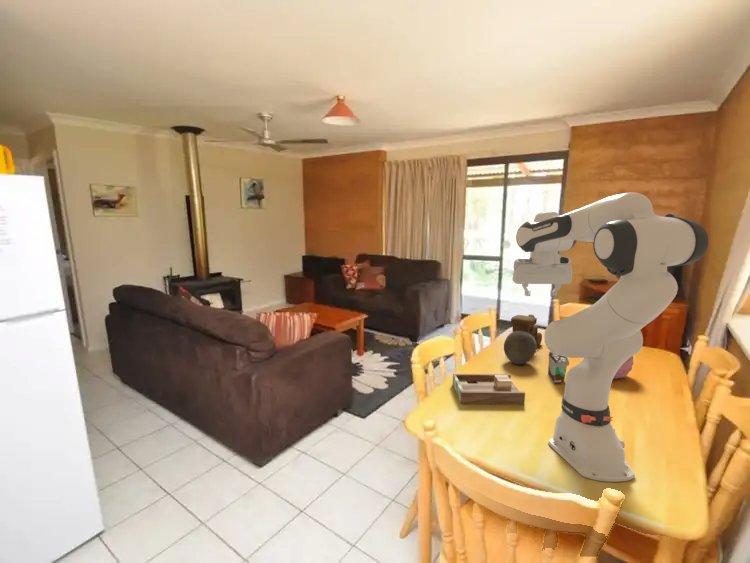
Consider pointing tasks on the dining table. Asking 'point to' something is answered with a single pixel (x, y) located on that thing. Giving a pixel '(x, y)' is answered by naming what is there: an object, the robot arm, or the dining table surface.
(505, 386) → the beech block
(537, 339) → the wooden toy train
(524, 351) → the dark brown round ball
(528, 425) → the dining table surface
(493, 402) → the box
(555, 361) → the food container
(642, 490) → the dining table surface
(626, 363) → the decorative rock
